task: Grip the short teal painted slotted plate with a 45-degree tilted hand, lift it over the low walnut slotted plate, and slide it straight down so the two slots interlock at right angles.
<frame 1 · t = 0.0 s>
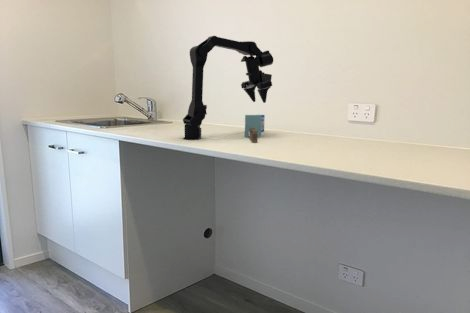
hand: (259, 102, 178), 15 cm above the worktop, tool pointing down, fingers open, 9 cm apart
teal plate: (252, 136, 172), on the worktop
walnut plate: (253, 140, 161), on the worktop
medicine box: (256, 132, 191), on the worktop
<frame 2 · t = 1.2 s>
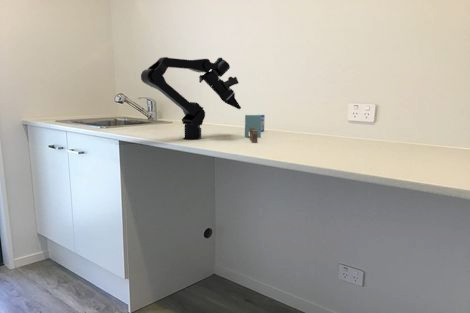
hand: (239, 108, 169), 13 cm above the worktop, tool tilted 45°, fingers open, 9 cm apart
nothing on the worktop moved.
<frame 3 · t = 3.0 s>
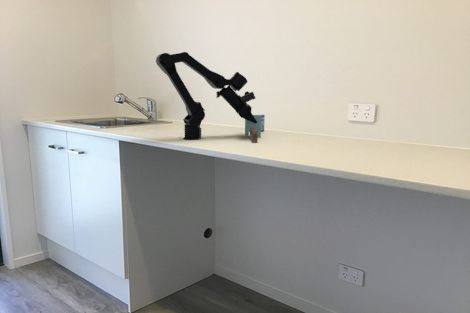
hand: (256, 122, 171), 7 cm above the worktop, tool tilted 45°, fingers closed on teal plate, 3 cm apart
teal plate: (252, 136, 172), on the worktop, touching gripper
everything else where it was.
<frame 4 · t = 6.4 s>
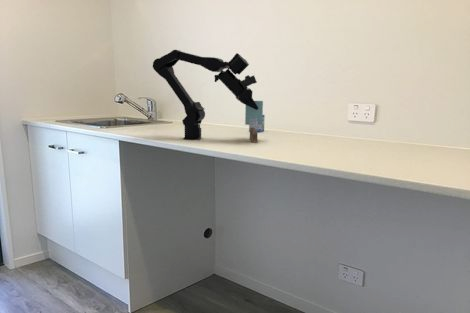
hand: (257, 108, 158), 14 cm above the worktop, tool tilted 45°, fingers closed on teal plate, 3 cm apart
teal plate: (253, 124, 160), point 7 cm above the worktop, touching gripper
everything else where it was.
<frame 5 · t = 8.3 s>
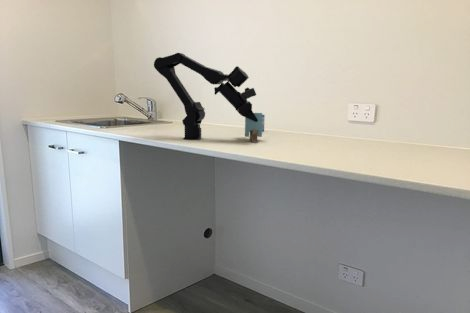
hand: (256, 121, 159), 8 cm above the worktop, tool tilted 45°, fingers closed on teal plate, 3 cm apart
teal plate: (253, 136, 161), point 2 cm above the worktop, touching gripper
everything else where it was.
when the fingers open (7 cm above the worktop, at t = 9.8 s): teal plate stays where it is, on the worktop.
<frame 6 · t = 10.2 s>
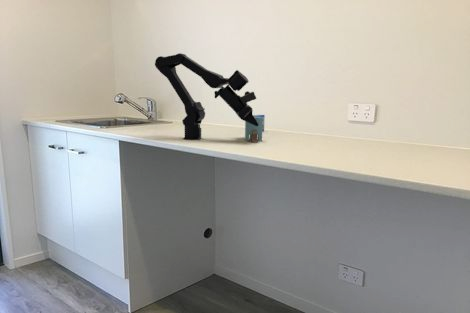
hand: (256, 124, 160), 7 cm above the worktop, tool tilted 45°, fingers open, 7 cm apart
teal plate: (253, 140, 161), on the worktop
everything else where it was.
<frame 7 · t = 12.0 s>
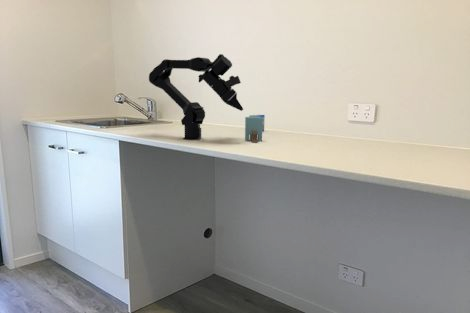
hand: (241, 109, 158), 13 cm above the worktop, tool tilted 45°, fingers open, 9 cm apart
nothing on the worktop moved.
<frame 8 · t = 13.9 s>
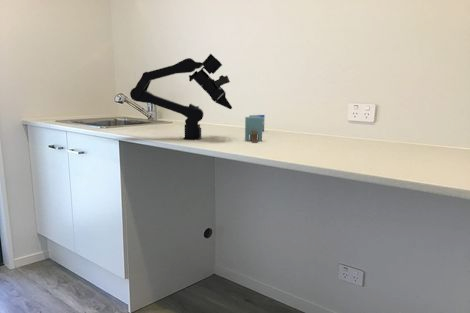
hand: (231, 107, 163), 14 cm above the worktop, tool tilted 45°, fingers open, 9 cm apart
nothing on the worktop moved.
at the end: teal plate 0.0 cm off-centre on the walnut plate, point 0.0 cm above the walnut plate's base; teal plate tilted 0°; the gripper is holding nothing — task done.
